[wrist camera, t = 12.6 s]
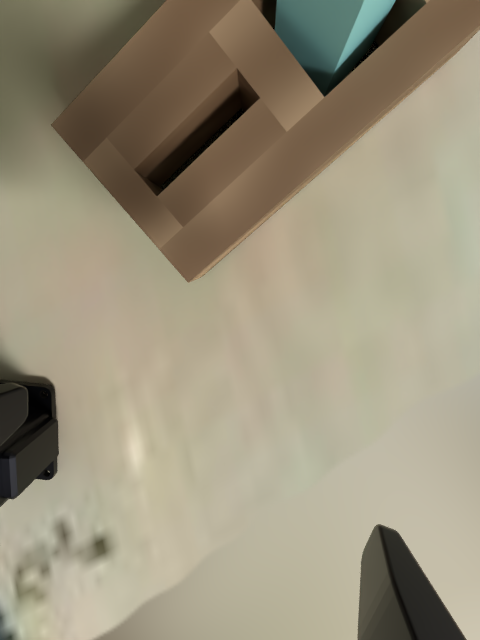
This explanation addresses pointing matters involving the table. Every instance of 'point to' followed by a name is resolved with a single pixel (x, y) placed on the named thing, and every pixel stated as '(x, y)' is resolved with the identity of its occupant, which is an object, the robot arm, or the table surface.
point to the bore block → (251, 128)
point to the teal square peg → (329, 35)
